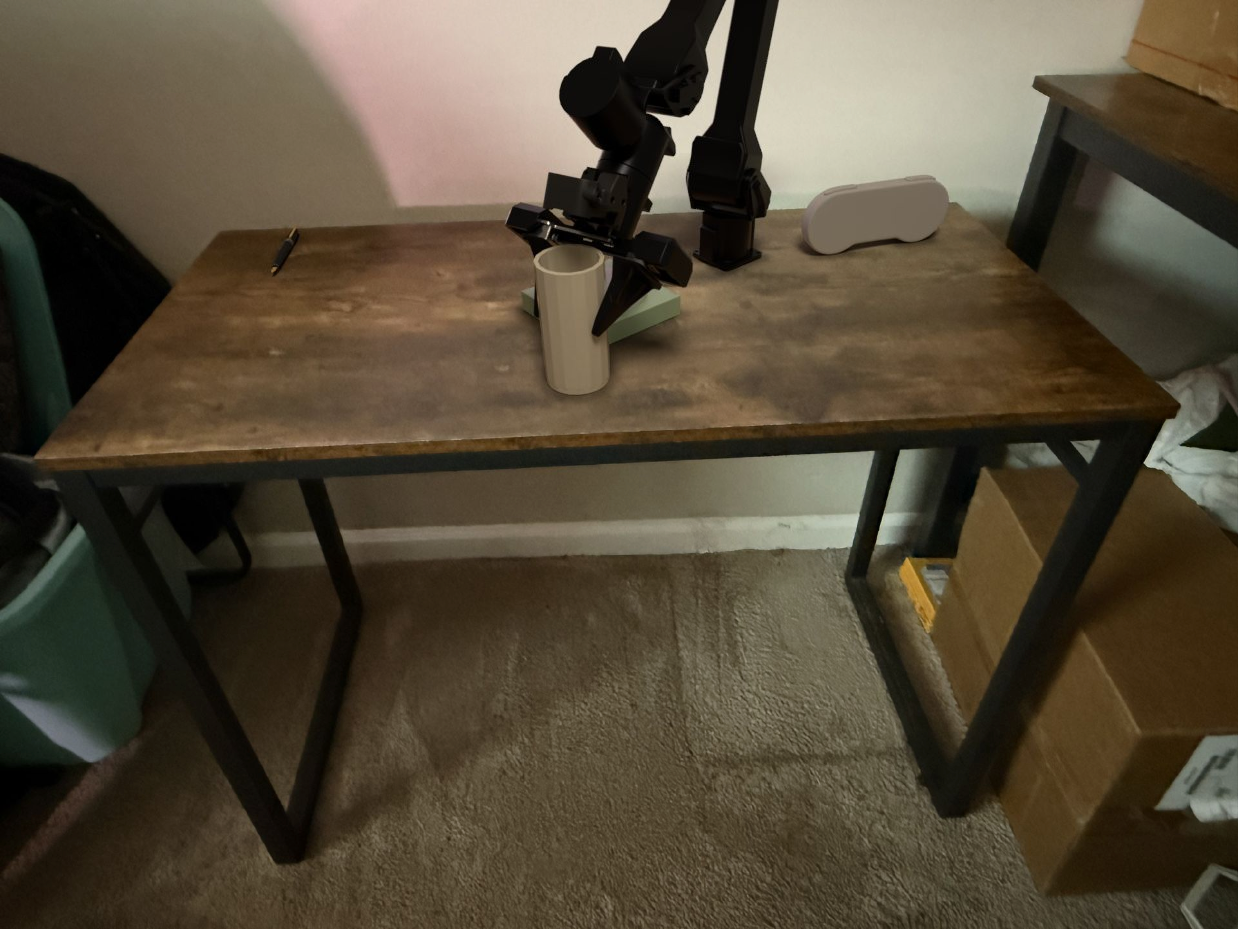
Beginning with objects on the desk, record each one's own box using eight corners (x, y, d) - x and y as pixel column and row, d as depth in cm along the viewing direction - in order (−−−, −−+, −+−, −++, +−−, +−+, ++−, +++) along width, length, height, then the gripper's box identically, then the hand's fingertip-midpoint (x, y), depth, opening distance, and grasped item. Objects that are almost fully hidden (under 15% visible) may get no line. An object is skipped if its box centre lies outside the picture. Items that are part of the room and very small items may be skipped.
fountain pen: (277, 278, 103) (274, 267, 102) (268, 278, 103) (264, 267, 102) (302, 232, 114) (299, 222, 113) (293, 233, 114) (290, 223, 113)
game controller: (932, 231, 107) (946, 168, 102) (942, 238, 105) (956, 174, 100) (796, 252, 104) (803, 188, 98) (804, 259, 102) (811, 194, 97)
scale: (611, 276, 100) (610, 253, 98) (680, 314, 92) (680, 290, 90) (523, 309, 94) (520, 286, 92) (588, 353, 86) (587, 329, 84)
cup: (585, 353, 86) (577, 238, 78) (622, 379, 82) (618, 259, 74) (534, 375, 83) (520, 257, 75) (570, 402, 79) (560, 281, 71)
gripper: (504, 116, 75) (442, 273, 74) (679, 147, 66) (610, 323, 66) (562, 174, 84) (507, 313, 84) (720, 207, 76) (660, 361, 76)
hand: (565, 326), depth 78 cm, fingers closed on cup, 6 cm apart
